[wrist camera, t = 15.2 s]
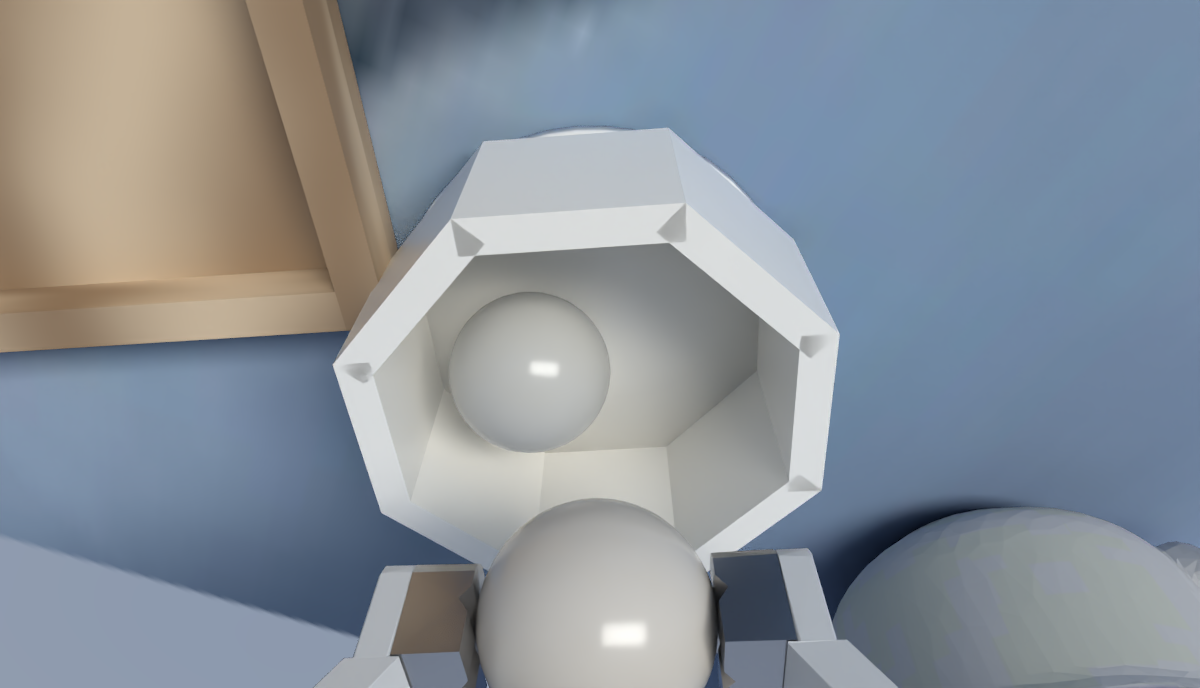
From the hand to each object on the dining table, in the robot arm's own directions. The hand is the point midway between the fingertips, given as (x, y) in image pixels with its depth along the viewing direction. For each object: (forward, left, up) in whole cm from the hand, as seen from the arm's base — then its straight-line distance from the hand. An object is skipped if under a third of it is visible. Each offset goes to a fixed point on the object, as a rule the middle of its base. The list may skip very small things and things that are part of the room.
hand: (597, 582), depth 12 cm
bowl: (0, 0, -8) cm, 8 cm away
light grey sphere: (0, 0, -7) cm, 7 cm away
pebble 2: (0, 0, -1) cm, 1 cm away
